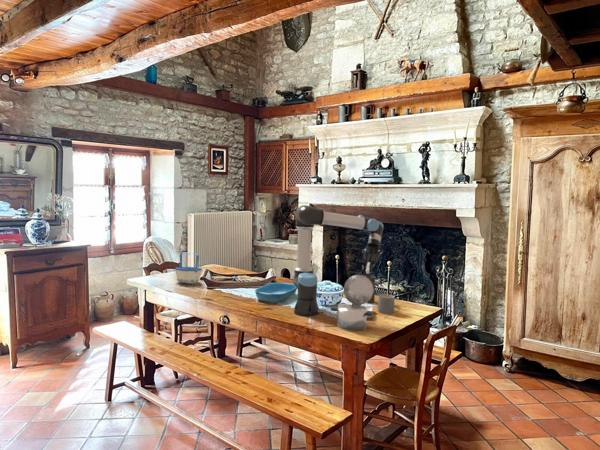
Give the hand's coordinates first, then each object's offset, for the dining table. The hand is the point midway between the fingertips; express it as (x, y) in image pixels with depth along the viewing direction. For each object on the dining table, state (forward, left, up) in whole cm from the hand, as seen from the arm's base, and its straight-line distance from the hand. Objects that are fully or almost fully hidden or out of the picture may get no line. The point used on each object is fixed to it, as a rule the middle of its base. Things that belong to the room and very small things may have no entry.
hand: (367, 272), depth 254 cm
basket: (-147, +20, -26) cm, 151 cm away
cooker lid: (-1, -16, -8) cm, 18 cm away
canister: (-7, +33, -26) cm, 43 cm away
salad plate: (-6, -2, -27) cm, 27 cm away
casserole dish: (-66, +12, -27) cm, 72 cm away
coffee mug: (+10, +14, -26) cm, 32 cm away
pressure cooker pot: (-1, -27, -26) cm, 37 cm away
